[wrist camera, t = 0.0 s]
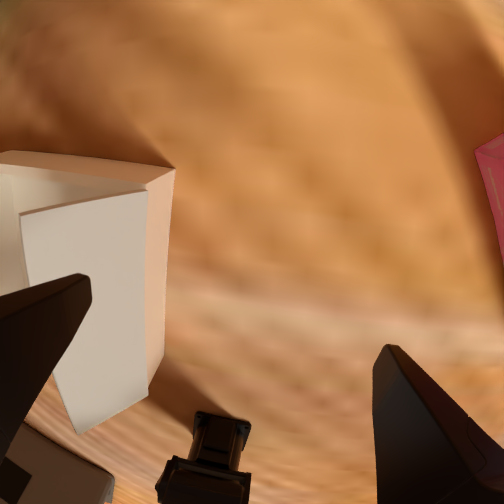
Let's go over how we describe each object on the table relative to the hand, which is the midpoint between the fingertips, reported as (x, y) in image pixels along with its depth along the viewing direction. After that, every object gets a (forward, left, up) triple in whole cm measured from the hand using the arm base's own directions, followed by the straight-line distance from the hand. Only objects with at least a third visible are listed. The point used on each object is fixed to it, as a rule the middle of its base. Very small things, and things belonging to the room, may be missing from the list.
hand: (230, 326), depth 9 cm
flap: (-8, +7, -9) cm, 14 cm away
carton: (-8, +16, -15) cm, 23 cm away
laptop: (-68, +40, -15) cm, 80 cm away
